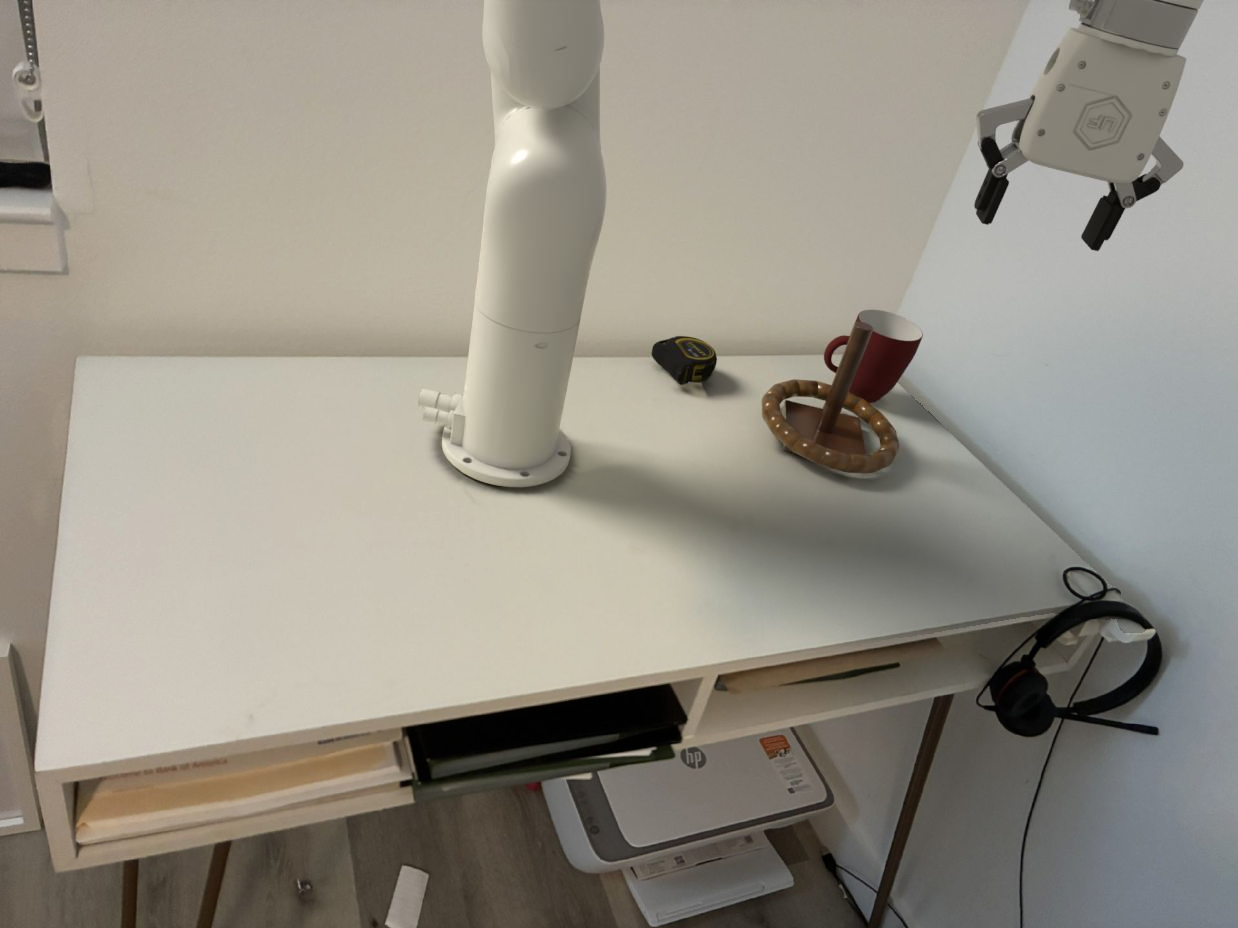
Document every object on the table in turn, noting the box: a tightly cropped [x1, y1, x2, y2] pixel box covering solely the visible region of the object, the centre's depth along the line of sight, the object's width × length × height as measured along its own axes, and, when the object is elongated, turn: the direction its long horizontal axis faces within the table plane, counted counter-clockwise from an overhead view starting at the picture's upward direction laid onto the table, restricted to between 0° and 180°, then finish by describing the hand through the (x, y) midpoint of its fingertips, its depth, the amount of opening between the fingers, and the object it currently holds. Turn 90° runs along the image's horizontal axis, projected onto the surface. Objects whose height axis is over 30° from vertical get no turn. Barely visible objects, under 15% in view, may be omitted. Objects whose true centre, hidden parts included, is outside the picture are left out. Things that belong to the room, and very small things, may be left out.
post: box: [781, 322, 873, 455], centre depth 101 cm, size 9×9×14 cm
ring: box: [761, 379, 901, 474], centre depth 103 cm, size 16×16×2 cm
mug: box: [823, 309, 924, 404], centre depth 113 cm, size 11×8×10 cm
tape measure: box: [651, 335, 718, 386], centre depth 110 cm, size 7×7×4 cm
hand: (1035, 232), depth 81 cm, fingers open, 9 cm apart
